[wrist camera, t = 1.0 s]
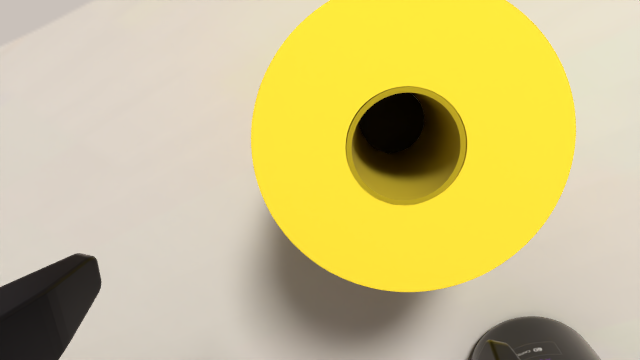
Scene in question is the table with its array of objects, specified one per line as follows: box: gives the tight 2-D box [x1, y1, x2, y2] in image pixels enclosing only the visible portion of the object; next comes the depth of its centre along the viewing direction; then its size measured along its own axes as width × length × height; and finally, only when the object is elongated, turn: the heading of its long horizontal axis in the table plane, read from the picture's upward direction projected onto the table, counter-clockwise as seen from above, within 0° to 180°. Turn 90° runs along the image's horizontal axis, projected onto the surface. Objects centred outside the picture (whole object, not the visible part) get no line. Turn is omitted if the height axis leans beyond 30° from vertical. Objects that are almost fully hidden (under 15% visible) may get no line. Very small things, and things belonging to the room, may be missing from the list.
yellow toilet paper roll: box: [251, 0, 576, 292], centre depth 18 cm, size 10×10×9 cm
